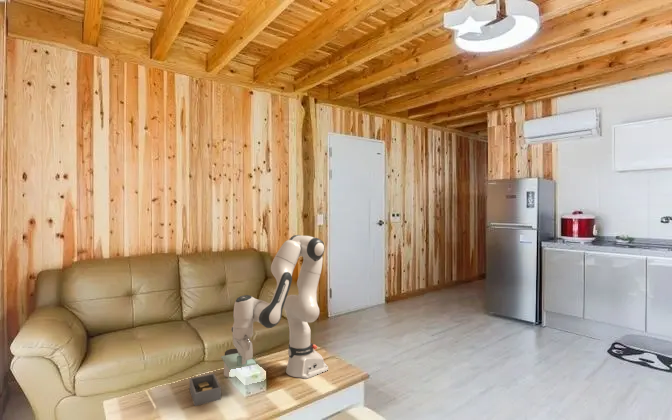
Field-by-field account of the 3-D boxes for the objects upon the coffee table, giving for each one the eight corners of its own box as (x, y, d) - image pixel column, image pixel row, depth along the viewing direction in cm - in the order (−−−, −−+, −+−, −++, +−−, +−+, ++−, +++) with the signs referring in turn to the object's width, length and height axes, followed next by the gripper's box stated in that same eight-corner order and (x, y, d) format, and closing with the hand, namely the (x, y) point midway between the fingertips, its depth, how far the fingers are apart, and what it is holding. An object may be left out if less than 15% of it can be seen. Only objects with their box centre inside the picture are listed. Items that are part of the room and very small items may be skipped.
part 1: (206, 387, 167) (206, 381, 167) (209, 391, 164) (209, 384, 164) (197, 390, 164) (197, 383, 164) (200, 394, 161) (200, 387, 161)
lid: (246, 353, 177) (246, 344, 177) (255, 364, 163) (255, 355, 163) (221, 357, 171) (221, 348, 171) (229, 369, 157) (229, 360, 157)
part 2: (212, 393, 162) (212, 387, 162) (211, 398, 158) (211, 391, 158) (202, 394, 161) (202, 388, 161) (201, 399, 157) (201, 393, 157)
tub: (213, 385, 170) (214, 373, 170) (220, 401, 157) (220, 387, 157) (189, 391, 165) (189, 378, 165) (194, 407, 152) (194, 394, 152)
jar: (226, 380, 175) (226, 356, 175) (221, 373, 182) (221, 350, 182) (243, 376, 180) (244, 352, 180) (238, 369, 187) (239, 347, 187)
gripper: (256, 338, 154) (255, 370, 154) (243, 324, 172) (242, 352, 172) (242, 340, 151) (241, 373, 151) (230, 326, 169) (229, 354, 169)
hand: (242, 362), depth 162 cm, fingers closed on lid, 3 cm apart
